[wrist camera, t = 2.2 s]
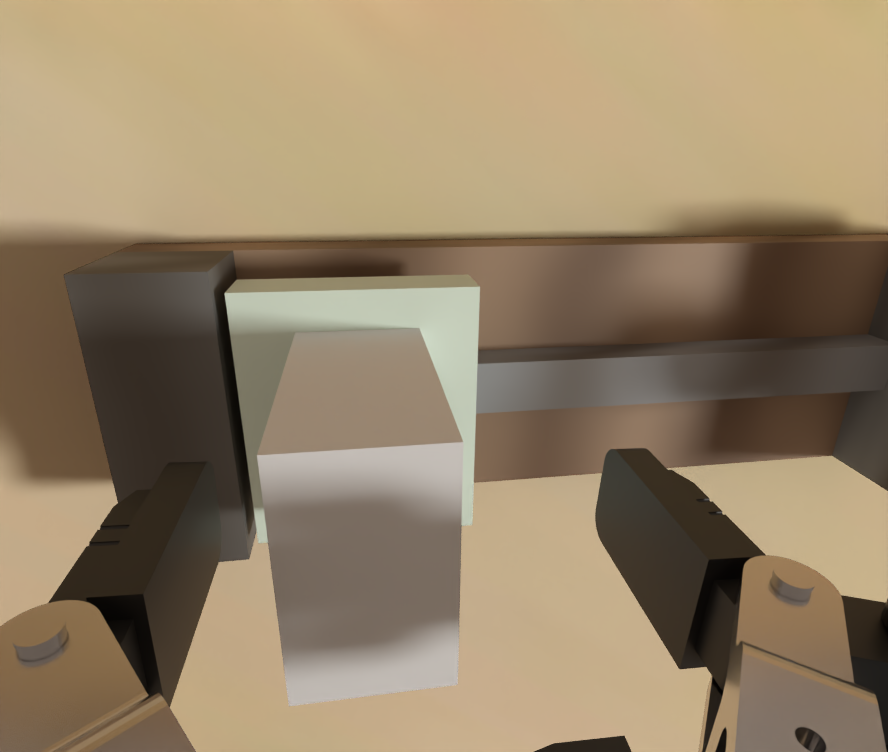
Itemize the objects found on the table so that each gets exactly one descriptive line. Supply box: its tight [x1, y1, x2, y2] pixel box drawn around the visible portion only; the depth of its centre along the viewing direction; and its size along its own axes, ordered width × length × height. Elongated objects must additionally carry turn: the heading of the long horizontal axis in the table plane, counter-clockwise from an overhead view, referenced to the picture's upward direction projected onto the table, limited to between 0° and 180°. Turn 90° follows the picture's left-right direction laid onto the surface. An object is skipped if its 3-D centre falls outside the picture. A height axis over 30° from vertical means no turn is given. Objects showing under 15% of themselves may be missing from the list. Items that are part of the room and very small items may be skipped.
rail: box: [64, 234, 888, 562], centre depth 17 cm, size 27×8×7 cm, turn 90°
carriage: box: [225, 275, 480, 706], centre depth 13 cm, size 6×7×8 cm
